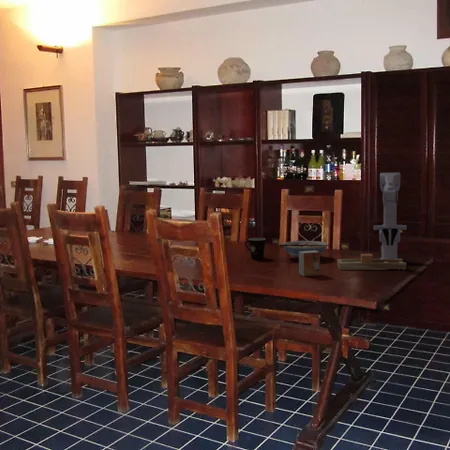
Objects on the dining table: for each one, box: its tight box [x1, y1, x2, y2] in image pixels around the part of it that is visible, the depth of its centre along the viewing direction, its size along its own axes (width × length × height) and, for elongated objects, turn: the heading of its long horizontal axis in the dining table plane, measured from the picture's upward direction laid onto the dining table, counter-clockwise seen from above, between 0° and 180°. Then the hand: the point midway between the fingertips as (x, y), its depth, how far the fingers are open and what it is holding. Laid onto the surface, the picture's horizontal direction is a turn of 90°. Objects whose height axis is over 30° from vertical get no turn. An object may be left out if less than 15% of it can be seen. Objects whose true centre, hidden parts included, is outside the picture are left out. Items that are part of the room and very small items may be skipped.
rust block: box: [360, 253, 374, 263], centre depth 285 cm, size 5×5×4 cm
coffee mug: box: [244, 237, 266, 260], centre depth 317 cm, size 12×9×10 cm
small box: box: [298, 250, 321, 277], centre depth 271 cm, size 8×6×10 cm
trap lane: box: [337, 258, 407, 271], centre depth 285 cm, size 11×30×3 cm, turn 84°
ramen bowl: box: [279, 240, 331, 260], centre depth 312 cm, size 25×23×8 cm
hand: (389, 245), depth 283 cm, fingers closed
